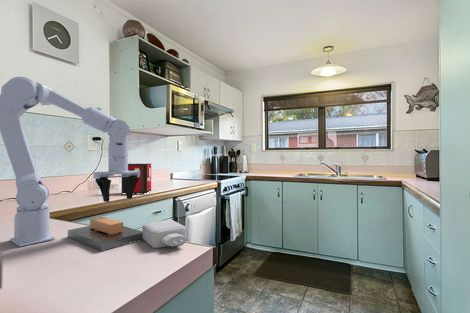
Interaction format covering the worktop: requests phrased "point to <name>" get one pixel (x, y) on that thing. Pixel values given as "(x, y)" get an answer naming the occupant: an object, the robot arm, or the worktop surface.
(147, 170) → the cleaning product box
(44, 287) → the worktop surface
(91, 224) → the clip
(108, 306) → the worktop surface
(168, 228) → the charger
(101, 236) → the gray rectangular slab
